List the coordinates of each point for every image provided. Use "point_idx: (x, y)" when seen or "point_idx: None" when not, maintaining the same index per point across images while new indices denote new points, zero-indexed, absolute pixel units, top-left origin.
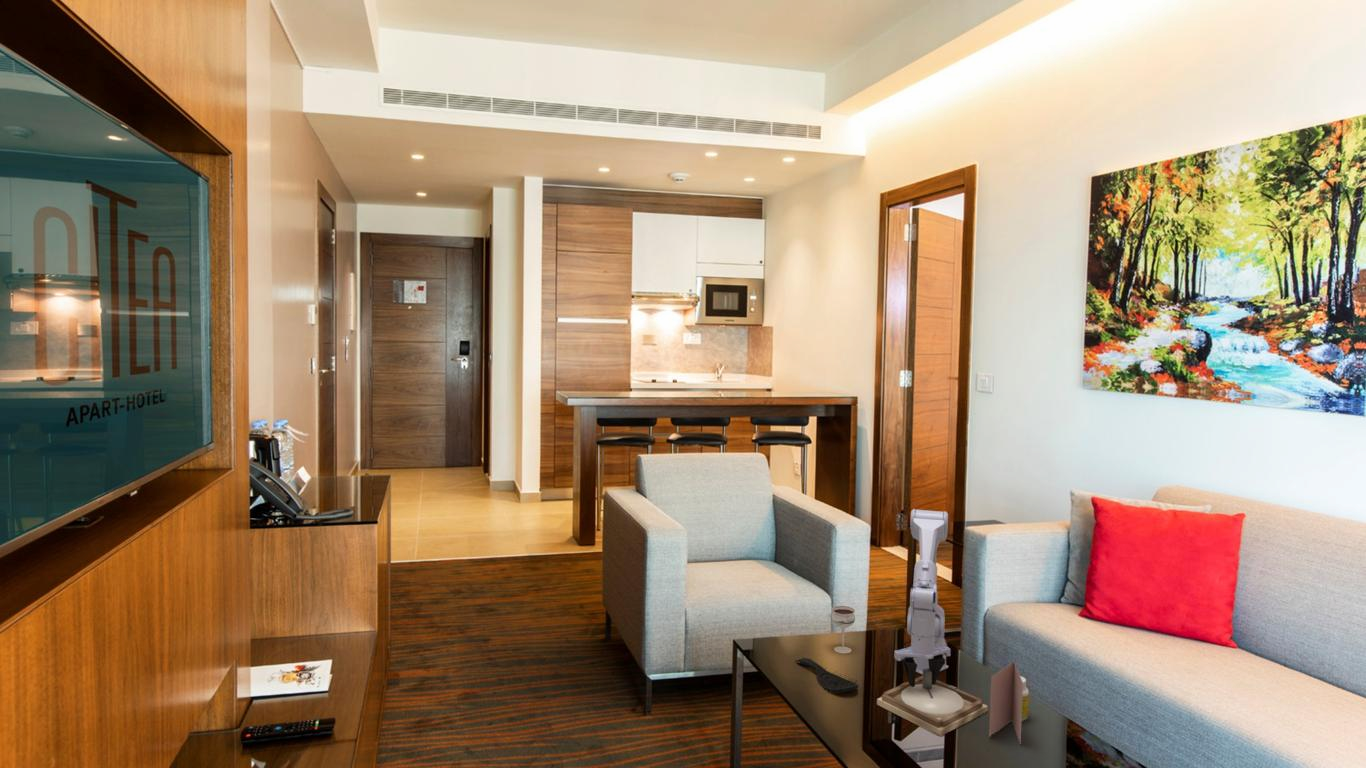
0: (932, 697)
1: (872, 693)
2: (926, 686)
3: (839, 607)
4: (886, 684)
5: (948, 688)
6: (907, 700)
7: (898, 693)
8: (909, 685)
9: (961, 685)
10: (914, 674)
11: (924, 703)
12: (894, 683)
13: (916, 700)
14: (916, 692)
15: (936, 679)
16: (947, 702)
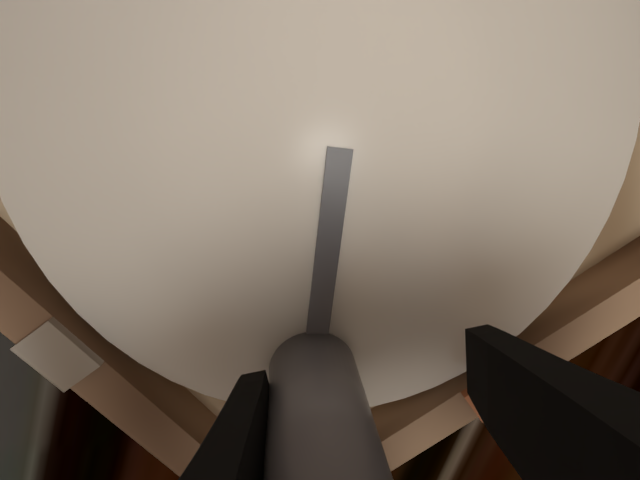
0: (332, 158)
1: (636, 352)
2: (334, 350)
3: None
4: (503, 454)
5: (108, 353)
6: (606, 107)
7: (560, 293)
8: (452, 389)
9: (4, 476)
10: (616, 417)
11: (465, 27)
12: (452, 467)
13: (519, 104)
14: (448, 269)
15: (219, 414)
16: (189, 32)
